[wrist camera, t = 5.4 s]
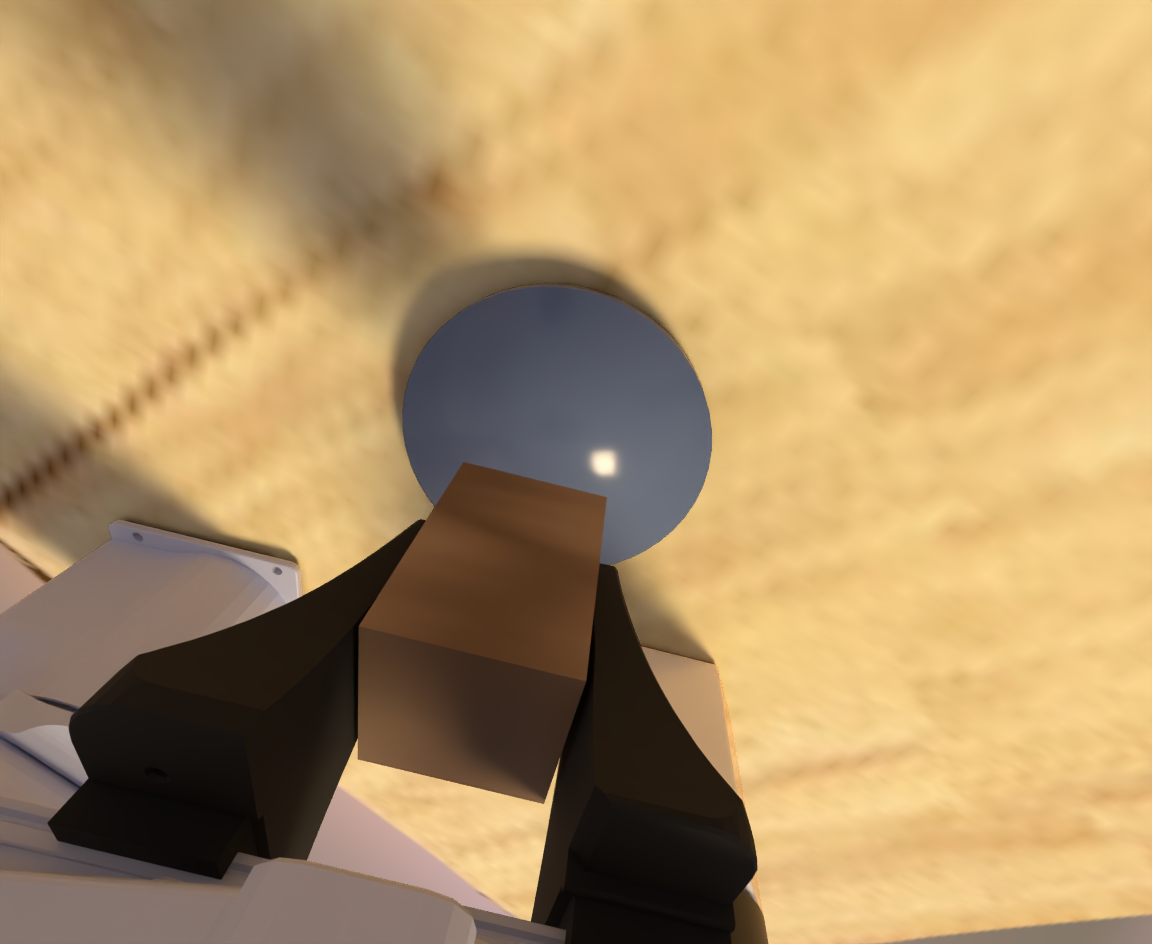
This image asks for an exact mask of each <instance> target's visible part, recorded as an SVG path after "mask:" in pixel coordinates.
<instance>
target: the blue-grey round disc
mask: <svg viewBox="0 0 1152 944" xmlns="http://www.w3.org/2000/svg"><path fill="white" fill-rule="evenodd" d="M403 434H404V440H405V447H406V451H407V454H408V457H409V461H410V464H411V467H412V469H413V471H414V473H415V476H416V478H417V480H418V482H419V484H420V486H421V487H422V489H423V491H424V492H425V494H426V496H427V497H428V498H429V500H430V501H431V502H432V504H433V505H434V506H436V504H437V503H438V501H439V499H440V498H441V496H442V495H443V493H444V492H445V490H446V488H447V487H448V485H449V484H450V482H451V481H452V479H453V477H454V476H455V474H456V473H457V471H458V470H459V468H460V466H461V465H462V463H463V462H466V463H470V464H474V465H478V466H483V467H487V468H491V469H495V470H499V471H503V472H507V473H511V474H515V475H519V476H523V477H527V478H531V479H535V480H539V481H544V482H548V483H552V484H556V485H560V486H564V487H568V488H572V489H576V490H580V491H584V492H588V493H592V494H596V495H600V496H604V497H607V501H606V510H605V519H604V528H603V537H602V546H601V555H600V563H601V564H606V565H611V564H615V563H618V562H621V561H623V560H626V559H629V558H631V557H634V556H636V555H638V554H640V553H642V552H644V551H646V550H647V549H649V548H650V547H652V546H653V545H655V544H656V543H658V542H659V541H661V540H662V539H663V538H664V537H666V536H667V535H668V534H669V533H670V532H671V531H673V530H674V529H675V528H676V526H677V525H678V524H679V523H680V522H681V521H682V520H683V519H684V518H685V516H686V515H687V513H688V512H689V510H690V509H691V508H692V506H693V505H694V503H695V501H696V499H697V497H698V495H699V493H700V491H701V489H702V487H703V485H704V482H705V478H706V475H707V472H708V469H709V463H710V457H711V451H712V428H711V421H710V414H709V409H708V406H707V402H706V399H705V395H704V392H703V388H702V385H701V383H700V380H699V378H698V376H697V374H696V372H695V369H694V367H693V365H692V364H691V362H690V361H689V359H688V357H687V356H686V354H685V353H684V351H683V350H682V348H681V347H680V346H679V345H678V343H677V342H676V341H675V340H674V339H673V338H672V337H671V335H670V334H669V333H668V332H667V331H666V330H665V329H664V328H663V327H661V326H660V325H659V324H658V323H657V322H656V321H655V320H653V319H652V318H651V317H650V316H648V315H647V314H645V313H644V312H642V311H641V310H639V309H638V308H636V307H635V306H633V305H631V304H629V303H627V302H625V301H623V300H621V299H619V298H617V297H615V296H613V295H610V294H607V293H604V292H601V291H598V290H595V289H592V288H587V287H582V286H576V285H571V284H556V283H541V284H531V285H522V286H518V287H514V288H510V289H506V290H502V291H499V292H497V293H494V294H492V295H490V296H487V297H485V298H482V299H481V300H479V301H477V302H475V303H474V304H472V305H470V306H469V307H467V308H465V309H464V310H462V311H461V312H460V313H458V314H457V315H456V316H455V317H453V318H452V319H451V320H450V321H448V322H447V323H446V324H445V325H444V326H442V327H441V328H440V329H439V331H438V332H437V333H436V334H435V335H434V336H433V337H432V338H431V339H430V341H429V342H428V343H427V345H426V346H425V348H424V349H423V351H422V352H421V354H420V355H419V357H418V359H417V361H416V363H415V365H414V367H413V370H412V372H411V374H410V377H409V380H408V384H407V387H406V391H405V396H404V404H403Z"/></svg>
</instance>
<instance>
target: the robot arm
mask: <svg viewBox="0 0 1152 944" xmlns="http://www.w3.org/2000/svg"><path fill="white" fill-rule="evenodd" d="M425 521H426V520H422V519H420V520H418V521H416V522H415V523H414V524H412V525H411V526H410V527H408V528H407V529H406V530H404V531H403V532H402V533H401V534H399V535H398V536H397V537H395V538H394V539H392V540H391V541H390V542H388V543H387V544H386V545H384V546H383V547H381V548H380V549H379V550H377V551H376V552H374V553H373V554H371V555H370V556H368V557H367V558H366V559H364V560H363V561H361V562H360V563H358V564H357V565H355V566H353V567H352V568H350V569H349V570H347V571H345V572H344V573H342V574H340V575H339V576H337V577H336V578H334V579H332V580H331V581H329V582H327V583H325V584H324V585H322V586H320V587H318V588H316V589H315V590H313V591H311V592H309V593H307V594H305V595H303V596H302V581H301V570H300V567H299V566H298V565H297V564H296V563H294V562H292V561H288V560H284V559H280V558H276V557H271V556H267V555H263V554H259V553H255V552H251V551H247V550H243V549H239V548H235V547H230V546H226V545H222V544H218V543H214V542H210V541H206V540H202V539H198V538H193V537H189V536H185V535H181V534H177V533H173V532H169V531H165V530H161V529H157V528H152V527H148V526H144V525H140V524H136V523H132V522H128V521H124V520H116V521H114V522H113V523H111V524H110V525H109V532H110V536H111V540H109V541H108V542H106V543H105V544H103V545H102V546H100V547H99V548H98V549H96V550H95V551H93V552H92V553H90V554H89V555H87V556H86V557H84V558H83V559H81V560H80V561H78V562H77V563H75V564H74V565H72V566H71V567H69V568H68V569H66V570H65V571H63V572H62V573H61V574H59V575H58V576H56V577H55V578H53V579H52V580H50V581H49V582H47V583H46V584H44V585H43V586H41V587H40V588H38V589H37V590H35V591H34V592H32V593H31V594H29V595H28V596H26V597H25V598H24V599H22V600H21V601H19V602H18V603H16V604H15V605H13V606H12V607H10V608H9V609H7V610H6V611H4V612H3V613H2V614H0V944H732V942H731V933H730V932H733V931H734V930H735V925H736V923H735V915H734V907H733V901H734V900H735V899H736V898H737V897H738V896H739V894H740V893H741V892H742V891H743V890H744V888H745V887H746V886H747V885H748V884H749V882H750V881H751V880H752V879H753V877H754V875H755V873H756V871H757V856H756V850H755V844H754V839H753V835H752V831H751V828H750V824H749V820H748V817H747V813H746V810H745V807H744V803H743V801H742V799H741V798H740V797H739V796H738V795H737V793H736V792H735V791H734V790H733V789H732V788H731V786H730V785H729V784H728V783H727V782H726V781H725V779H724V778H723V777H722V776H721V775H720V774H719V772H718V771H717V770H716V769H715V768H714V767H713V765H712V764H711V763H710V762H709V760H708V759H707V758H706V756H705V755H704V754H703V752H702V751H701V750H700V748H699V747H698V746H697V744H696V743H695V741H694V740H693V738H692V737H691V735H690V734H689V732H688V731H687V729H686V728H685V726H684V725H683V723H682V722H681V720H680V719H679V717H678V716H677V714H676V713H675V711H674V710H673V708H672V706H671V704H670V703H669V701H668V699H667V698H666V696H665V694H664V692H663V690H662V689H661V687H660V685H659V683H658V681H657V679H656V677H655V675H654V673H653V671H652V669H651V667H650V665H649V663H648V661H647V659H646V656H645V654H644V652H643V649H642V647H641V645H640V642H639V640H638V637H637V635H636V632H635V629H634V627H633V624H632V621H631V618H630V616H629V613H628V610H627V606H626V603H625V600H624V596H623V593H622V589H621V585H620V581H619V576H618V571H617V569H616V568H615V567H614V566H610V565H606V564H601V563H599V572H598V581H597V590H596V599H595V608H594V616H593V625H592V634H591V643H590V652H589V661H588V670H587V678H586V683H585V686H584V689H583V692H582V695H581V698H580V701H579V704H578V706H577V709H576V712H575V715H574V718H573V721H572V724H571V727H570V730H569V733H568V735H567V738H566V741H565V744H564V747H563V750H562V753H561V756H560V760H559V766H558V772H557V778H556V784H555V790H554V796H553V802H552V808H551V814H550V819H549V825H548V831H547V836H546V842H545V848H544V853H543V859H542V864H541V870H540V875H539V881H538V886H537V892H536V897H535V902H534V908H533V913H532V919H531V922H530V921H526V920H521V919H517V918H513V917H508V916H505V915H500V914H496V913H492V912H488V911H484V910H479V909H475V908H471V907H467V906H462V905H461V904H459V903H458V902H457V901H455V900H454V899H453V898H450V897H447V896H444V895H442V894H439V893H436V892H434V891H431V890H428V889H423V888H420V887H415V886H411V885H407V884H403V883H399V882H395V881H390V880H386V879H382V878H378V877H373V876H369V875H365V874H361V873H357V872H352V871H348V870H344V869H340V868H336V867H332V866H327V865H323V864H319V863H315V862H310V861H307V858H308V856H309V853H310V851H311V848H312V846H313V843H314V841H315V838H316V836H317V833H318V831H319V828H320V825H321V823H322V821H323V819H324V816H325V813H326V811H327V809H328V807H329V804H330V802H331V799H332V797H333V795H334V792H335V790H336V787H337V785H338V783H339V780H340V778H341V775H342V773H343V771H344V769H345V766H346V764H347V762H348V759H349V757H350V755H351V752H352V750H353V748H354V746H355V743H356V741H357V739H358V659H359V625H360V623H361V622H362V620H363V619H364V617H365V616H366V614H367V612H368V611H369V609H370V608H371V606H372V605H373V603H374V602H375V600H376V598H377V597H378V595H379V594H380V592H381V591H382V589H383V587H384V586H385V584H386V583H387V581H388V580H389V578H390V576H391V575H392V573H393V572H394V570H395V569H396V567H397V565H398V564H399V562H400V561H401V559H402V558H403V556H404V554H405V553H406V551H407V550H408V548H409V547H410V545H411V543H412V542H413V540H414V539H415V537H416V536H417V534H418V532H419V531H420V529H421V528H422V526H423V525H424V523H425ZM279 568H280V569H279Z"/></svg>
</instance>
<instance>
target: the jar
mask: <svg viewBox="0 0 1152 944" xmlns="http://www.w3.org/2000/svg"><path fill="white" fill-rule="evenodd" d="M641 647H642V649H643V652H644V654H645V656H646V659H647V661H648V663H649V665H650V667H651V669H652V671H653V673H654V675H655V677H656V679H657V681H658V683H659V685H660V687H661V689H662V690H663V692H664V694H665V696H666V698H667V699H668V701H669V703H670V704H671V706H672V708H673V710H674V711H675V713H676V714H677V716H678V717H679V719H680V720H681V722H682V723H683V725H684V726H685V728H686V729H687V731H688V732H689V734H690V735H691V737H692V738H693V740H694V741H695V743H696V744H697V746H698V747H699V748H700V750H701V751H702V752H703V754H704V755H705V756H706V758H707V759H708V760H709V762H710V763H711V764H712V765H713V767H714V768H715V769H716V770H717V771H718V772H719V774H720V775H721V776H722V777H723V778H724V779H725V781H726V782H727V783H728V784H729V785H730V786H731V788H732V789H733V790H734V791H735V792H736V793H737V795H738V796H739V797H740V798H741V799H742V801H743V803H744V807H745V801H744V794H743V788H742V782H741V776H740V770H739V764H738V758H737V752H736V746H735V740H734V734H733V728H732V722H731V718H730V714H729V710H728V706H727V702H726V698H725V694H724V690H723V687H722V683H721V679H720V675H719V671H718V668H717V666H716V665H714V664H711V663H707V662H703V661H699V660H695V659H691V658H687V657H683V656H679V655H675V654H671V653H667V652H663V651H659V650H655V649H651V648H647V647H643V646H641ZM559 760H560V759H559ZM558 766H559V761H558ZM557 772H558V767H557ZM556 778H557V774H556ZM555 784H556V781H555ZM554 790H555V788H554ZM553 796H554V794H553ZM552 802H553V801H552ZM745 810H746V807H745ZM733 907H734V915H735V923H736V925H735V930H734V931H733V932H730V933H731V942H732V944H768V939H767V933H766V927H765V921H764V916H763V910H762V904H761V898H760V892H759V886H758V880H757V874H756V873H755V875H754V877H753V879H752V880H751V881H750V882H749V884H748V885H747V886H746V887H745V888H744V890H743V891H742V892H741V893H740V894H739V896H738V897H737V898H736V899H735V900H734V901H733Z"/></svg>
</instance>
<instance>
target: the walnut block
mask: <svg viewBox="0 0 1152 944" xmlns="http://www.w3.org/2000/svg"><path fill="white" fill-rule="evenodd" d="M606 501H607V497H604V496H600V495H596V494H592V493H588V492H584V491H580V490H576V489H572V488H568V487H564V486H560V485H556V484H552V483H548V482H544V481H539V480H535V479H531V478H527V477H523V476H519V475H515V474H511V473H507V472H503V471H499V470H495V469H491V468H487V467H483V466H478V465H474V464H470V463H466V462H463V463H462V465H461V466H460V468H459V470H458V471H457V473H456V474H455V476H454V477H453V479H452V481H451V482H450V484H449V485H448V487H447V488H446V490H445V492H444V493H443V495H442V496H441V498H440V499H439V501H438V503H437V504H436V506H435V507H434V509H433V510H432V512H431V514H430V515H429V517H428V518H427V520H426V521H425V523H424V525H423V526H422V528H421V529H420V531H419V532H418V534H417V536H416V537H415V539H414V540H413V542H412V543H411V545H410V547H409V548H408V550H407V551H406V553H405V554H404V556H403V558H402V559H401V561H400V562H399V564H398V565H397V567H396V569H395V570H394V572H393V573H392V575H391V576H390V578H389V580H388V581H387V583H386V584H385V586H384V587H383V589H382V591H381V592H380V594H379V595H378V597H377V598H376V600H375V602H374V603H373V605H372V606H371V608H370V609H369V611H368V612H367V614H366V616H365V617H364V619H363V620H362V622H361V623H360V625H359V659H358V759H359V760H363V761H367V762H371V763H376V764H380V765H384V766H388V767H392V768H396V769H401V770H405V771H409V772H413V773H417V774H421V775H426V776H430V777H434V778H438V779H442V780H446V781H451V782H455V783H459V784H463V785H467V786H471V787H476V788H480V789H484V790H488V791H492V792H496V793H501V794H505V795H509V796H513V797H517V798H521V799H526V800H530V801H534V802H538V803H542V804H544V802H545V799H546V796H547V793H548V790H549V787H550V785H551V782H552V779H553V776H554V773H555V770H556V767H557V764H558V761H559V759H560V756H561V753H562V750H563V747H564V744H565V741H566V738H567V735H568V733H569V730H570V727H571V724H572V721H573V718H574V715H575V712H576V709H577V706H578V704H579V701H580V698H581V695H582V692H583V689H584V686H585V683H586V678H587V670H588V661H589V652H590V643H591V634H592V625H593V616H594V608H595V599H596V590H597V581H598V572H599V563H600V555H601V546H602V537H603V528H604V519H605V510H606Z"/></svg>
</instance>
